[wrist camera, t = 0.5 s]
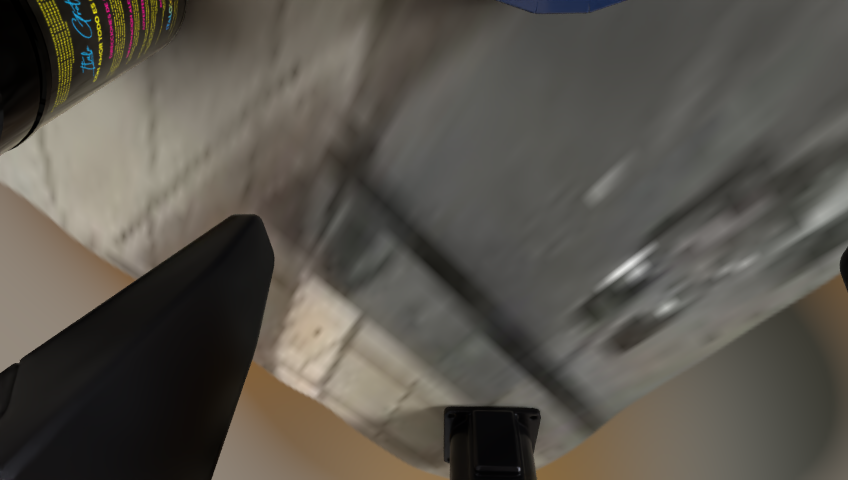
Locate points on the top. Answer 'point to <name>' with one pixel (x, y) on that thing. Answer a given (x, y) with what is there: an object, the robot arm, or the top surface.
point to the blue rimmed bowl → (560, 5)
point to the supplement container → (71, 54)
